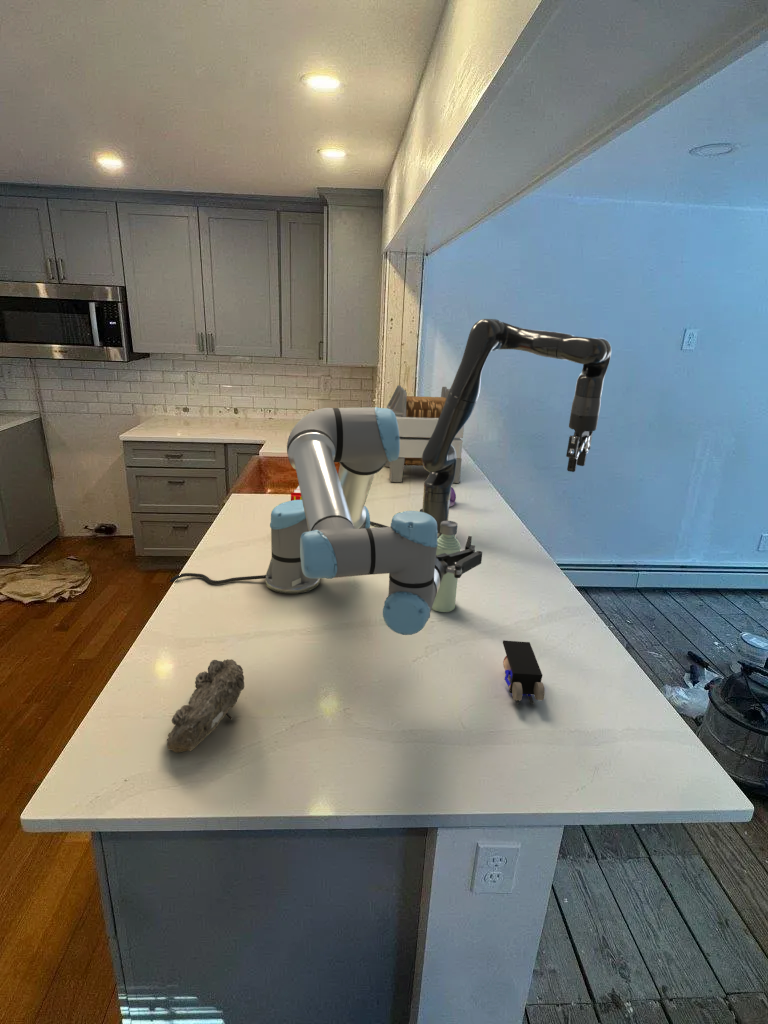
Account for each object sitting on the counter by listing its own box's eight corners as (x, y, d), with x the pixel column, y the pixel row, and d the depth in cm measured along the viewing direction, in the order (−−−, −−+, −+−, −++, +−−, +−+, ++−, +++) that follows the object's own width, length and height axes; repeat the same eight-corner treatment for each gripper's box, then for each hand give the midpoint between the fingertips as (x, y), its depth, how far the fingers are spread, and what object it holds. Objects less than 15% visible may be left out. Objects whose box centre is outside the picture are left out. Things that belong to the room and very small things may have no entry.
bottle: (441, 614, 148) (448, 531, 140) (423, 603, 153) (430, 523, 145) (460, 607, 152) (468, 526, 144) (442, 597, 157) (449, 518, 149)
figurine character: (543, 716, 114) (525, 665, 128) (550, 687, 111) (531, 638, 124) (510, 715, 114) (496, 664, 127) (516, 687, 111) (500, 637, 124)
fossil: (192, 660, 117) (244, 628, 112) (224, 691, 120) (276, 661, 115) (142, 746, 98) (202, 712, 93) (182, 779, 101) (242, 748, 96)
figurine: (442, 509, 226) (445, 473, 221) (428, 501, 234) (431, 466, 229) (461, 506, 230) (465, 471, 225) (448, 499, 239) (451, 464, 233)
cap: (448, 536, 143) (448, 527, 142) (436, 531, 146) (437, 522, 145) (460, 533, 145) (461, 524, 144) (448, 527, 148) (449, 519, 147)
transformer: (382, 463, 289) (386, 382, 275) (445, 464, 293) (451, 384, 279) (390, 482, 257) (394, 392, 243) (460, 483, 261) (468, 394, 247)
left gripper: (356, 586, 109) (383, 546, 129) (486, 606, 104) (494, 561, 123) (357, 550, 107) (384, 514, 126) (490, 569, 101) (497, 529, 121)
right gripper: (579, 407, 166) (570, 461, 171) (563, 413, 155) (554, 470, 160) (605, 411, 162) (596, 466, 167) (591, 417, 151) (581, 476, 156)
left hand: (438, 537), depth 125 cm, fingers open, 13 cm apart
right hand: (575, 468), depth 164 cm, fingers open, 8 cm apart
